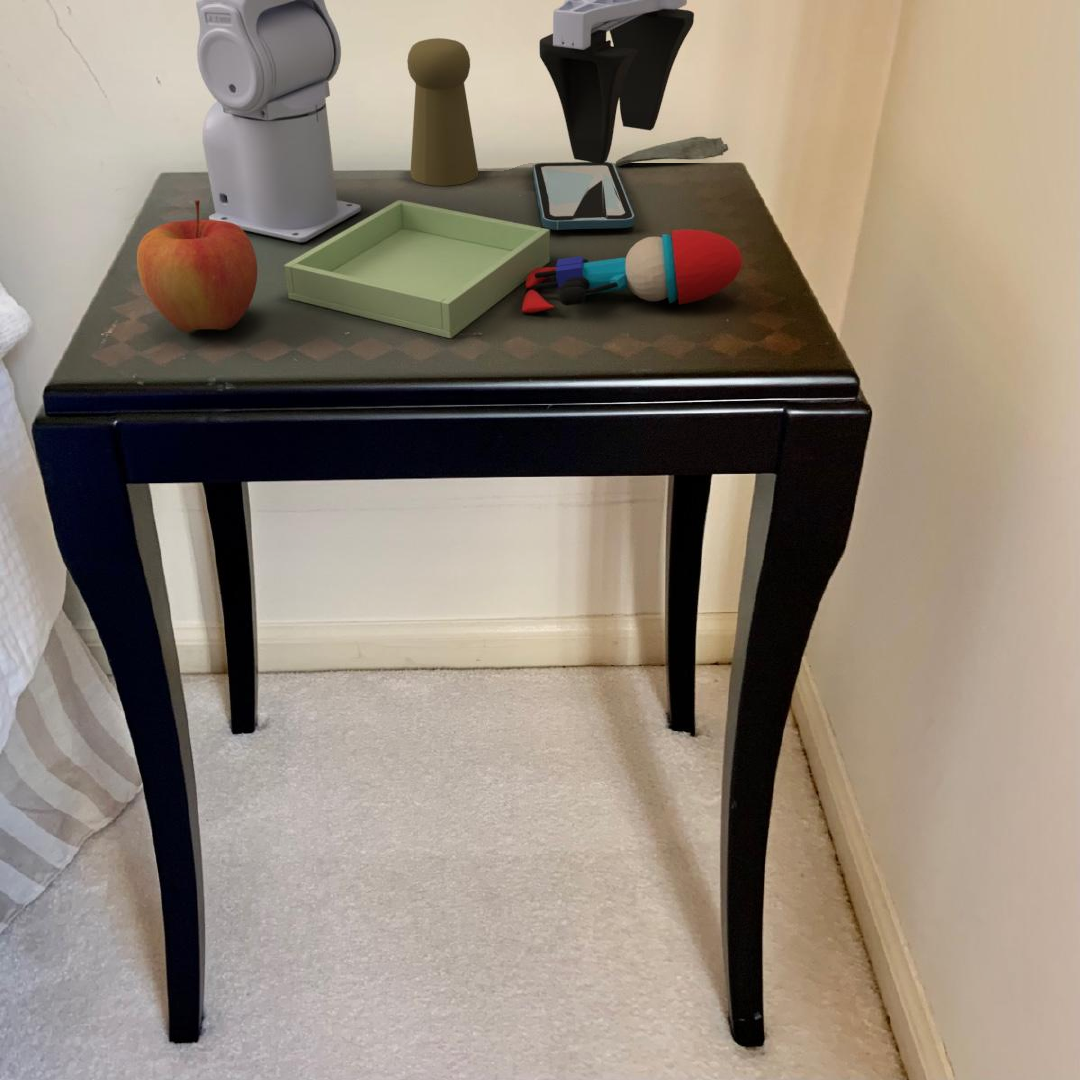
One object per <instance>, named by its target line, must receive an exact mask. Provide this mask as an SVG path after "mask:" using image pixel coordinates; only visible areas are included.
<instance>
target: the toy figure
mask: <svg viewBox="0 0 1080 1080" xmlns="http://www.w3.org/2000/svg"><path fill="white" fill-rule="evenodd" d="M742 265H743V255H742V253H741V250H740V249H739V247H738V246H737V245H736V244H735V243H734V242H733V241H732V240H731V239H729V238H727V237H725V236H723V235H720V234H718V233H716V232H712V231H707V230H703V229H690V228H689V229H687V228H684V229H683V228H682V229H676V230H674V229H673V230H671V234H667V233H666V234H665V233H663V234H661V236H648V237H645V238H642V239H641V240H639V241H637V242H635V244H634V245H633V246H632V247H631V248H630V249H629V251H628V252H627V254H626V256H624V257H617V258H610V259H604V260H596V261H595V260H594V261H589V260H588V259H586V258H584V256H583V255H580V256H572V257H566V258H565V257H564V258H559V259H557V261H556V267H555V266H554V267H553V266H551V267H549V266H548V267H546V266H544V267H542V268H537V269H534V270H532V271H531V272H530V273H529V275H528V277H527V279H526V280H525V287H526V288H527V289H529V290H528V291H527V292H526V294H525V295H524V297H523V302H522V308H521V311H522V313H524V314H525V313H526V314H535V313H539V312H543V311H546V310H550V309H553V308H555V307H556V306H555V305H553V304H552V303H551V304H550V303H549V302H548V301H547V300H545V298H544V297H542V295H540V293H538V291H539V290H547V289H553V288H558V300H559V302H560V304H561V305H564V306H575V305H580V304H582V303H583V302H585V300H586V297H587V295H596V294H602V293H610V292H611V293H612V292H618V291H624V290H629V291H631V292H632V294H634V295H635V296H637V297H638V298H639V299H641V300H644V301H647V302H660V301H664V300H665V299H668V304H672V303H675V302H676V301H678V305H684V304H689V303H690V304H691V303H693V302H697V301H700V300H704V299H706V298H709V297H711V296H714V295H715V294H717V293H718V292H721V291H722V290H723V289H725V288H726V287H728V286H729V285H730V284H732V282H734V280H735V279H736V278H737V277H738V275H739V273H740V271H741V270H742ZM551 277H556V280H555V281H548V282H546V280H548V279H549V278H551ZM531 288H532V289H531Z"/></svg>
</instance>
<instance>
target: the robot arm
mask: <svg viewBox="0 0 1080 1080" xmlns="http://www.w3.org/2000/svg"><path fill="white" fill-rule="evenodd" d="M686 5H688V0H564V1H563V4H562V5H560V6H559V7H557V8H555V9H553V10H552V33H550V34H549V35H546V36H544V37H542V38H540V39H539V58H540V60H541V62H542V63H543V65H544V67H545V68H546V70H547V72H548V74H549V75H550V78H551V80H552V82H553V85H554V87H555V90H556V93H557V95H558V98H559V101H560V104H561V108H562V112H563V116H564V120H565V126H566V130H567V134H568V139H569V143H570V148H571V152H572V156H573V159H574V160H578V161H582V162H594V163H604V162H608V158H609V155H610V153H611V152H610V151H611V148H612V144H613V137H614V131H615V124H616V116H617V109H618V105H619V112H620V118H621V123H622V126H623V127H625V128H631V129H639V130H645V131H652V130H653V129H655V126H656V124H657V120H658V116H659V113H660V110H661V107H662V103H663V99H664V97H665V92H666V88H667V85H668V81H669V78H670V75H671V72H672V68H673V67H674V63H675V61H676V59H677V56H678V54H679V51H680V49H681V48H682V45H683V43H684V41H685V39H686V38H687V36H688V34H689V32H690V31H691V29H692V28H693V25H694V21H695V12H694V11H692V10H688V9H682V8H683V7H685V6H686ZM195 6H196V12H197V17H198V23H199V35H198V36H199V37H198V40H197V46H196V48H197V49H196V50H197V51H196V58H197V65H198V69H199V72H200V75H201V76H200V77H201V78H202V81H203V83H204V85H205V86H206V88H207V90H208V91H209V93H210V94H211V96H213V98H214V99H215V100H216V101H215V102H214V103H213V104H212V105H211V106H210V108H209V109H208V111H207V113H206V114H205V117H204V122H203V125H202V126H203V127H202V147H203V152H204V157H205V158H204V159H205V163H206V168H207V175H208V181H209V185H210V190H211V197H212V202H213V206H214V213H212V214H210V215H208V220H217V221H226V222H230V223H233V224H236V225H237V226H239V227H240V228H241V229H242V230H243V231H246V232H251V233H255V234H260V235H264V236H269V237H273V238H277V239H282V240H285V241H291V242H295V243H306V242H308V241H310V240H311V239H313V238H315V237H317V236H318V235H320V234H322V233H324V232H326V231H327V230H329V229H332V228H333V227H335V226H337V225H339V224H340V223H342V222H344V221H346V220H347V219H349V218H351V217H352V216H353V217H354V216H355V215H356V214H358V213H360V212H361V210H362V208H361V207H362V206H361V205H360V204H357V203H352V202H348V201H344V200H338V198H337V190H336V189H337V188H336V179H335V170H334V163H333V161H334V160H333V154H332V153H333V152H332V146H331V144H332V143H331V135H330V134H331V133H330V126H329V119H328V109H327V103H326V102H327V98H328V97H330V96H331V93H330V83H329V82H330V81H331V80H333V78H334V77H335V75H336V74H337V72H338V70H339V67H340V64H341V57H342V45H341V39H340V36H339V32H338V29H337V27H336V25H335V23H334V22H333V19H332V18H331V16H330V14H329V11H328V9H327V6H326V3H325V0H196V2H195ZM607 32H609V34H610V38H611V39H608V40H607V34H608V33H607Z"/></svg>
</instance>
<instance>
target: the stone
mask: <svg viewBox="0 0 1080 1080" xmlns="http://www.w3.org/2000/svg"><path fill="white" fill-rule="evenodd" d="M728 150H729V146H728V143H724V141H723V139H722V137H717V138H716V137H715V138H714V137H713V138H707V137H706V136H693V137H689V138H685V139H681V140H680V139H679V140H676V141H672V142H666V143H662V144H658V145H654V146H651V147H647V148H644V149H639V150H636V151H635V152H632V153H630V154H627V155H625V156H622V157H620V158H619V159H617V160H616V161H615V166H616V167H621V166H623V165H627V164H632V163H638V162H648V161H654V160H656V161H657V160H689V161H690V160H705V159H708V158H716V157H719V156H723V155H724V153H726V152H727V151H728Z"/></svg>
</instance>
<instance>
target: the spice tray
mask: <svg viewBox="0 0 1080 1080" xmlns="http://www.w3.org/2000/svg"><path fill="white" fill-rule="evenodd" d="M550 246H551V229H548V228H545V227H543V228H542V227H538V226H534V225H529V224H524V223H518V222H513V221H509V220H502V219H498V218H493V217H488V216H482V215H477V214H472V213H469V212H468V213H467V212H462V211H457V210H452V209H447V208H442V207H437V206H431V205H427V204H422V203H417V202H412V201H407V200H406V201H405V200H402V199H397V200H396V201H394V202H393V203H391V204H389V205H387V206H385V207H384V208H382V209H380V210H378V211H377V212H374V213H373V214H371V215H369V216H368V217H366V218H364V219H363V220H361V221H359V222H357V223H355V224H354V225H352V226H350V227H348V228H347V229H345V230H343V231H341V232H340V233H338V234H336V235H335V236H332V237H331V238H329V239H327V240H325V241H324V242H321V243H320V244H319V245H316V246H315V247H312V248H311V249H310V250H308V251H306V252H304V253H303V254H301V255H299V256H298V257H296V258H294V259H292V260H290V261H288V262H287V263H285V264H284V265H283V268H284V276H285V280H286V281H285V282H286V289H287V296H288V299H289V300H293V301H297V302H301V303H305V304H310V305H313V306H317V307H321V308H326V309H329V310H333V311H337V312H341V313H345V314H350V315H353V316H358V317H361V318H366V319H370V320H373V321H378V322H382V323H386V324H390V325H394V326H398V327H403V328H405V329H409V330H414V331H418V332H422V333H426V334H431V335H434V336H438V337H443V338H447V339H452V338H454V337H455V336H456V335H458V334H459V333H460V332H462V330H464V329H465V328H467V327H468V326H469V325H470V324H472V323H473V322H474V321H476V320H477V319H478V318H479V317H481V316H482V315H483V314H485V313H486V312H487V311H488V310H490V309H491V308H492V307H494V306H495V305H496V304H498V302H500V301H501V300H503V299H504V298H505V297H507V295H509V294H510V293H511V292H513V291H514V290H515V289H517V288H518V287H519V286H521V285H522V284H523V283H524V282H526V279H527V277H528V275H529V273H530V272H531V271H532V270H534V269H537V268H544V267H546V265H547V264H549V263H550V261H551V259H550V258H551V257H550V255H551V254H550V253H551V251H550V250H551V247H550Z"/></svg>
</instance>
